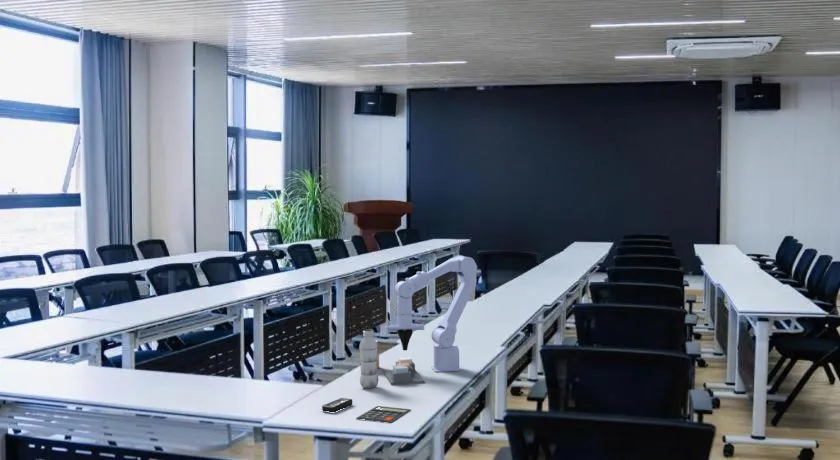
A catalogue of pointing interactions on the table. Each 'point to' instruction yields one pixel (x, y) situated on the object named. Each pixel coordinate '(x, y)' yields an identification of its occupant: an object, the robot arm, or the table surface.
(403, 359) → the ivory key
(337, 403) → the multiport hub
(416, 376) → the panel
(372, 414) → the calculator
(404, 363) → the terracotta key
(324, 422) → the table surface
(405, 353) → the table surface
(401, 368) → the slate key
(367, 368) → the plastic bottle
